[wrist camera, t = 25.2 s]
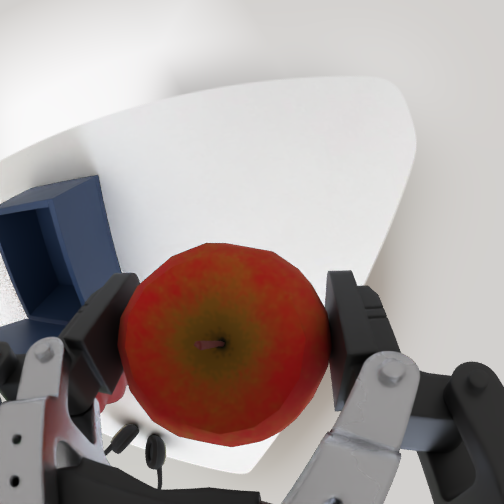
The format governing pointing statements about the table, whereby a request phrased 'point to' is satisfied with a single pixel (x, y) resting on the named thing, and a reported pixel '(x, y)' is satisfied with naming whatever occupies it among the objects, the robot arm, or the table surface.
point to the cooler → (57, 247)
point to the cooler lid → (27, 334)
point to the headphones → (153, 448)
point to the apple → (224, 344)
